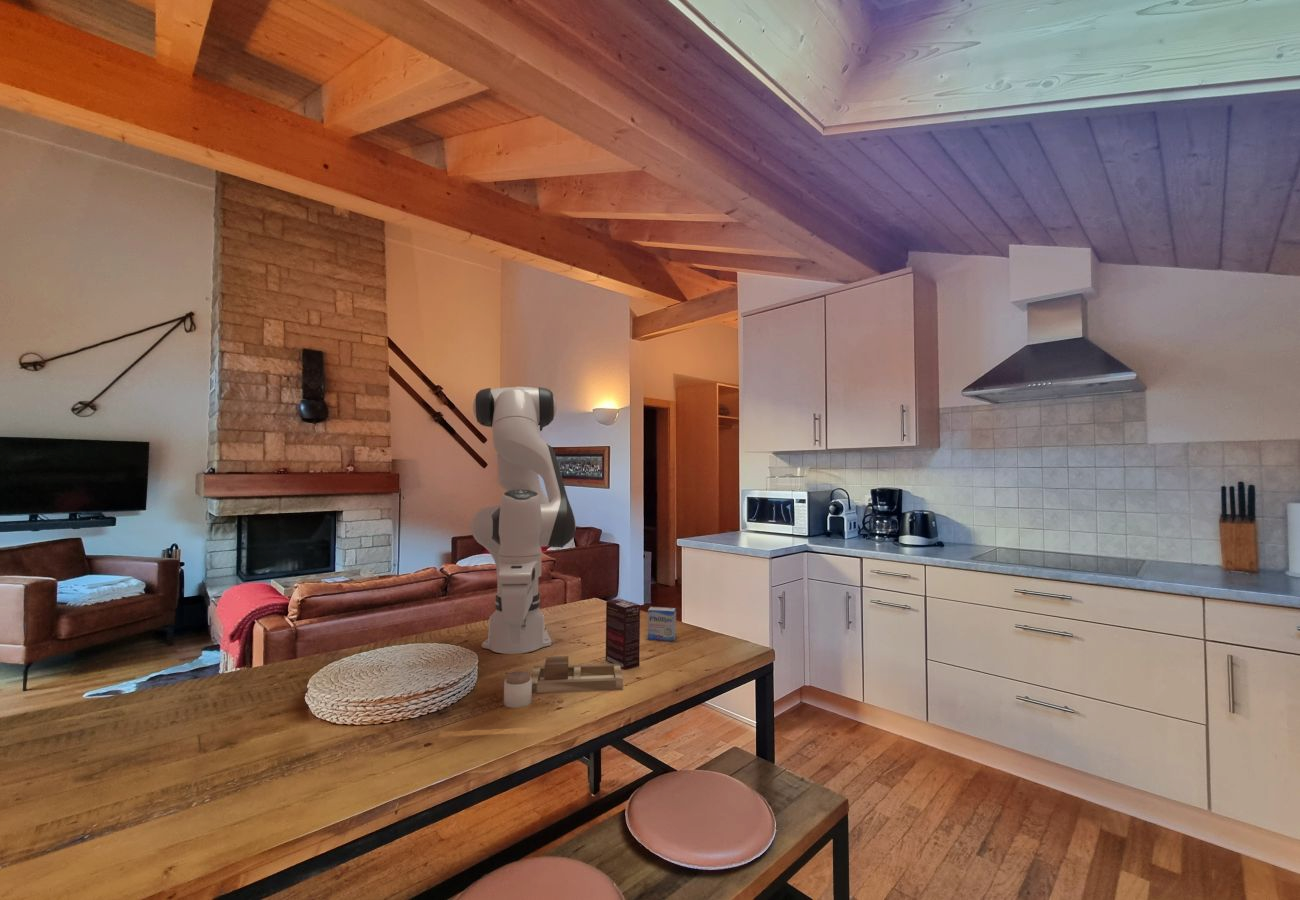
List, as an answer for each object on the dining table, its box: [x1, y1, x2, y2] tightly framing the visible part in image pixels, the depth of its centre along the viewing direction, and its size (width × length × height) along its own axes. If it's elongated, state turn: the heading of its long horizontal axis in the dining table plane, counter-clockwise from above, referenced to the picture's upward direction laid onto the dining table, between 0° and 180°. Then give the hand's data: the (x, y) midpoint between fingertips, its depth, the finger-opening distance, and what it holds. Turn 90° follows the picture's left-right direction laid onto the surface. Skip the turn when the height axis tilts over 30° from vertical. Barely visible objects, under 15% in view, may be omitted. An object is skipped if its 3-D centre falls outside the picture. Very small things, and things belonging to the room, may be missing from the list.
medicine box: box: [647, 606, 677, 642], centre depth 154 cm, size 8×4×9 cm, turn 81°
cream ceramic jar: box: [503, 670, 533, 709], centre depth 109 cm, size 6×6×6 cm
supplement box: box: [605, 598, 641, 671], centre depth 132 cm, size 9×5×16 cm, turn 39°
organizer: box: [531, 663, 624, 694], centre depth 119 cm, size 10×20×3 cm, turn 97°
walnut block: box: [544, 655, 569, 680], centre depth 119 cm, size 5×5×5 cm
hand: (519, 635), depth 109 cm, fingers open, 8 cm apart
